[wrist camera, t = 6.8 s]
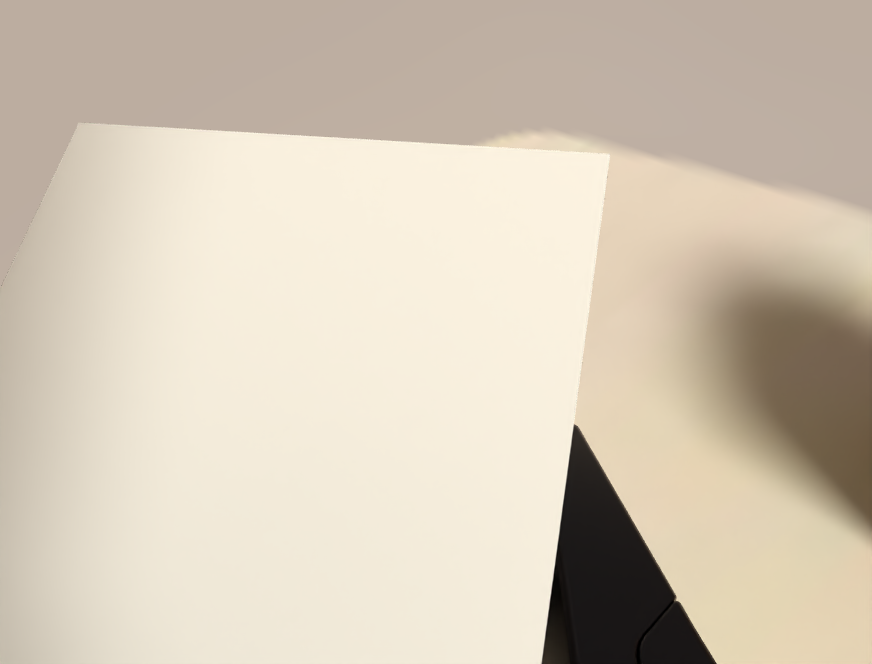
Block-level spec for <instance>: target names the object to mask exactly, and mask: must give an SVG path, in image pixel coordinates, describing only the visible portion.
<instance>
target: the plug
mask: <svg viewBox="0 0 872 664" xmlns="http://www.w3.org/2000/svg"><path fill="white" fill-rule="evenodd" d="M609 159H610V154H603V153H586V152H569V151H552V150H536V149H519V148H502V147H485V146H468V145H450V144H434V143H432V144H431V143H417V142H399V141H398V142H397V141H383V140H365V139H349V138H332V137H314V136H296V135H281V134H263V133H246V132H229V131H214V130H213V131H212V130H196V129H180V128H179V129H178V128H163V127H146V126H129V125H111V124H95V123H79V124H78V126H77V128H76V130H75V132H74V134H73V136H72V138H71V140H70V143H69V145H68V147H67V149H66V151H65V153H64V155H63V157H62V159H61V161H60V164H59V166H58V168H57V170H56V172H55V174H54V176H53V179H52V180H51V182H50V185H49V187H48V189H47V191H46V193H45V195H44V197H43V199H42V201H41V204H40V206H39V208H38V210H37V212H36V214H35V216H34V218H33V220H32V222H31V225H30V227H29V229H28V231H27V233H26V235H25V237H24V239H23V241H22V243H21V246H20V248H19V250H18V252H17V254H16V256H15V258H14V260H13V262H12V265H11V267H10V269H9V271H8V273H7V275H6V277H5V279H4V281H3V284H2V285H1V288H0V664H541V663H542V655H543V648H544V641H545V633H546V626H547V618H548V611H549V604H550V596H551V589H552V581H553V574H554V566H555V559H556V552H557V544H558V537H559V529H560V522H561V515H562V507H563V500H564V492H565V485H566V478H567V470H568V463H569V455H570V448H571V441H572V433H573V426H574V418H575V411H576V404H577V396H578V389H579V381H580V374H581V366H582V359H583V352H584V344H585V337H586V329H587V322H588V315H589V307H590V300H591V292H592V285H593V278H594V270H595V263H596V255H597V248H598V241H599V233H600V226H601V218H602V211H603V204H604V196H605V189H606V181H607V174H608V166H609Z"/></svg>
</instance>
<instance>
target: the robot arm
mask: <svg viewBox="0 0 872 664" xmlns="http://www.w3.org/2000/svg"><path fill="white" fill-rule="evenodd" d="M676 599H677V598H676V595H675V593H674V591H673V590H672V588H671V586H670V584H669V583H668V581H667V579H666V578H665V576H664V574H663V572H662V571H661V569H660V567H659V565H658V564H657V562H656V560H655V559H654V557H653V555H652V553H651V552H650V550H649V548H648V546H647V545H646V543H645V541H644V540H643V538H642V536H641V534H640V533H639V531H638V529H637V527H636V526H635V524H634V522H633V521H632V519H631V517H630V515H629V514H628V512H627V510H626V508H625V507H624V505H623V503H622V502H621V500H620V498H619V496H618V495H617V493H616V491H615V489H614V488H613V486H612V484H611V483H610V481H609V479H608V477H607V476H606V474H605V472H604V470H603V469H602V467H601V465H600V464H599V462H598V460H597V458H596V457H595V455H594V453H593V451H592V450H591V448H590V446H589V445H588V443H587V441H586V439H585V438H584V436H583V434H582V432H581V431H580V429H579V427H578V426H576V425H574V426H573V433H572V441H571V448H570V455H569V463H568V470H567V478H566V485H565V492H564V500H563V507H562V515H561V522H560V529H559V537H558V544H557V552H556V559H555V566H554V574H553V581H552V589H551V596H550V604H549V611H548V618H547V626H546V633H545V641H544V648H543V655H542V663H541V664H717V663H716V662H715V660H714V659H713V657H712V655H711V654H710V652H709V650H708V649H707V647H706V646H705V644H704V642H703V641H702V639H701V637H700V636H699V634H698V632H697V631H696V629H695V628H694V626H693V624H692V622H691V620H690V619H689V617H688V615H687V613H686V612H685V610H684V608H683V606H682V605H681V603H680V602H678V601H676Z"/></svg>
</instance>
